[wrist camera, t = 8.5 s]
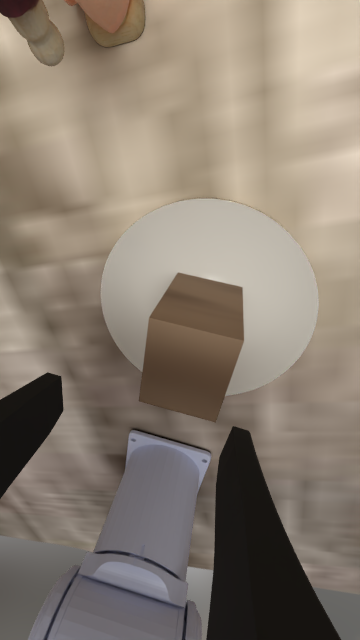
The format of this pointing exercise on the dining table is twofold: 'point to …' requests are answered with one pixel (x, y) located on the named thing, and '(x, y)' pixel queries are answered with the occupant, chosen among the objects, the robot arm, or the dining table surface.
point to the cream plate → (219, 265)
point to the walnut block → (193, 346)
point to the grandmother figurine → (101, 15)
